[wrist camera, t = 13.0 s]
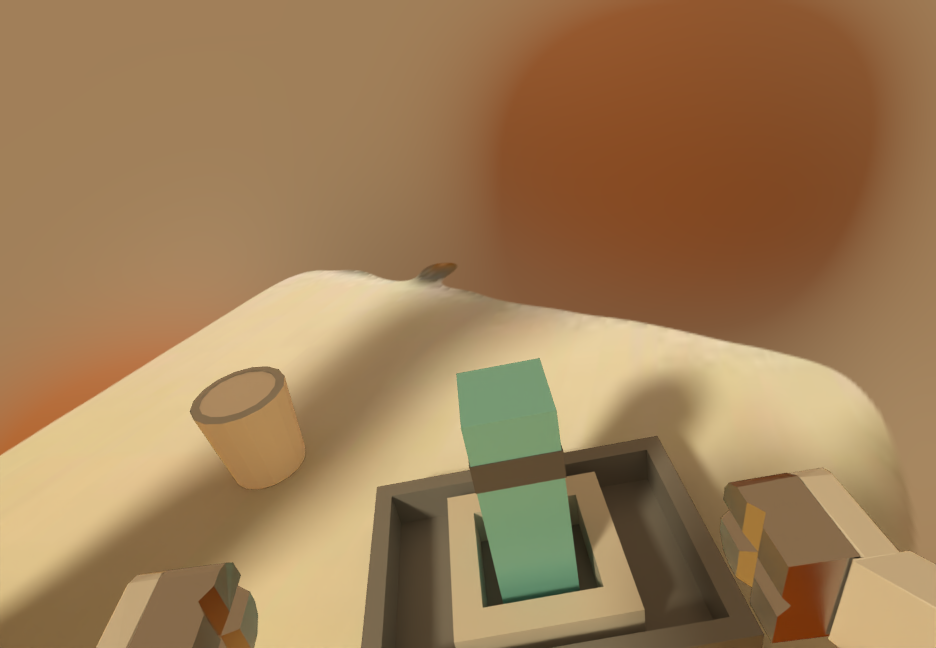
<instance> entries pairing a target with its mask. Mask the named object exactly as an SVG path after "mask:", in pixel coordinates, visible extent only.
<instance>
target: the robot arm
mask: <svg viewBox="0 0 936 648" xmlns="http://www.w3.org/2000/svg"><path fill="white" fill-rule="evenodd" d="M723 500H724V501H725V503H726V505H727V506H728V508H729V510H728V511H727V512H726V513H725V515H724V516H723V517H722V518H721V526H720V535H721V540H722V545H723V550H724V552H725V555H726V558H727V560H728V563H729V565H730V567H731V569H732V570H733V572H734V574H735V576H736V577H737V578H738V579H740V580H741V581H743V582H744V583H746V584H747V585H749V586H750V587H752V591H751V597H750V604H751V606H752V608H753V610H754V611H755V613H756V615H757V617H758V619H759V621H760V622H761V624H762V626H763V628H764V630H765V631H766V633H767V635H768V637H769V639H770V641H771V642H772V643H777V642H785V641H793V640H801V639H809V638H817V637H825V636H829V638H828V639H829V640H830V641H831V642H832V643H834V644H835V645H836V646H837V647H839V648H936V564H935V563H933V562H931V561H929V560H927V559H925V558H923V557H921V556H919V555H918V554H916V553H914V552H912V551H902V552H900V551H899V550H898V549H897V548H896V547H895V546H894V545H893V543H892V542H891V541H890V540H889V539H888V538H887V537H886V535H885V534H884V533H883V532H882V531H881V530H880V528H879V527H878V526H877V525H876V524H875V523H874V522H873V520H872V519H871V518H870V517H869V516H868V515H867V513H866V512H865V511H864V510H863V509H862V508H861V507H860V505H859V504H858V503H857V502H856V501H855V500H854V498H853V497H852V496H851V495H850V494H849V493H848V492H847V490H846V489H845V488H844V487H843V486H842V485H841V484H840V482H839V481H838V480H837V479H836V478H835V477H834V475H833V474H832V473H831V472H830V471H828V470H826V469H824V468H818V469H812V470H805V471H799V472H793V473H783V474H777V475H771V476H765V477H760V478H754V479H748V480H742V481H736V482H730V483H728V485H727V486H726V487H725V491H724V498H723ZM240 576H241V575H240V573H239V571H238V570H237V568H236V567H235V565H234V563H222V564H214V565H206V566H199V567H191V568H183V569H176V570H168V571H162V572H155V573H148V574H141V575H137V576H136V577H135V578H133V579H132V580H131V581H130V582H129V583H128V585H127V586H126V588H125V590H124V592H123V594H122V596H121V598H120V600H119V602H118V604H117V606H116V608H115V610H114V612H113V614H112V616H111V618H110V620H109V622H108V624H107V626H106V628H105V630H104V632H103V634H102V636H101V638H100V640H99V642H98V644H97V646H96V648H254V646H255V641H256V637H257V626H258V613H257V609H256V604H255V601H254V599H253V597H252V595H251V593H250V592H249V591H247V590H245V589H243V588H241V587H239V586H238V583H239V579H240Z"/></svg>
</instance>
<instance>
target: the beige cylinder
mask: <svg viewBox="0 0 936 648" xmlns="http://www.w3.org/2000/svg"><path fill="white" fill-rule="evenodd" d="M190 413H191V415H192V417H193V419H194V421H195V423H196V424H197V425H198V427H199V428H200V430H201V431H202V433H203V434H204V436H205V437H206V438H207V440H208V441H209V443H210V444H211V446H212V447H213V449H214V450H215V452H216V453H217V454H218V456H219V457H220V459H221V460H222V462H223V463H224V465H225V466H226V467H227V469H228V470H229V472H230V473H231V475H232V476H233V478H234V479H235V480H236V482H237V483H238V485H240V486H242V487H244V488H246V489H263V488H266V487H269V486H273V485H276V484H277V483H279V482H281V481H283V480H285V479H286V478H288V477H289V476H291V475H292V474H293V473H294V472H295V471H296V470H297V469H298V468H299V467H300V465H301V464H302V462H303V460H304V458H305V445H304V441H303V438H302V435H301V431H300V428H299V424H298V421H297V417H296V414H295V411H294V407H293V404H292V400H291V397H290V393H289V390H288V387H287V383H286V380H285V376H284V375H283V374H282V373H281V372H280V370H279V369H275V368H271V367H252V368H248V369H244V370H241V371H237V372H234V373H232V374H230V375H227V376H225V377H223V378H221V379H219V380H217V381H216V382H214V383H213V384H211V385H210V386H209V387H207V388H206V389H204V390H203V391H202V392H201V393H200V394H199V396H198V397H197V398H196V399H195V400H194V401H193V404H192V407H191V410H190Z"/></svg>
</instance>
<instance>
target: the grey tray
mask: <svg viewBox="0 0 936 648" xmlns="http://www.w3.org/2000/svg"><path fill="white" fill-rule="evenodd" d="M563 455H564V463H565V470H566V478H565V480H566V488H567V495H568V503H569V511H570V518H571V526H572V534H573V541H574V549H575V557H576V564H577V572H578V579H579V587H580V591H576V592H570V593H564V594H559V595H553V596H547V597H541V598H536V599H530V600H524V601H519V602H513V603H507V604H503V601H502V596H501V592H500V588H499V584H498V580H497V576H496V571H495V567H494V563H493V559H492V555H491V551H490V546H489V542H488V538H487V534H486V530H485V526H484V521H483V517H482V513H481V509H480V505H479V501H478V497H477V494H476V493H475V489H474V485H473V481H472V477H471V473H470V470H468V471H462V472H457V473H451V474H446V475H440V476H435V477H429V478H424V479H418V480H413V481H407V482H402V483H396V484H391V485H385V486H380V487H377V493H376V503H375V514H374V524H373V534H372V544H371V554H370V564H369V574H368V584H367V594H366V605H365V615H364V625H363V635H362V645H361V648H762V645H763V637H764V634H763V632H762V630H761V628H760V627H759V625H758V623H757V621H756V619H755V617H754V615H753V614H752V612H751V610H750V608H749V606H748V604H747V602H746V601H745V599H744V597H743V595H742V593H741V591H740V589H739V587H738V586H737V584H736V582H735V580H734V578H733V576H732V574H731V573H730V571H729V569H728V567H727V565H726V563H725V561H724V560H723V558H722V556H721V554H720V552H719V550H718V548H717V546H716V545H715V543H714V541H713V539H712V537H711V535H710V533H709V532H708V530H707V528H706V526H705V524H704V522H703V520H702V519H701V517H700V515H699V513H698V511H697V509H696V507H695V506H694V504H693V502H692V500H691V498H690V496H689V494H688V492H687V491H686V489H685V487H684V485H683V483H682V481H681V479H680V478H679V476H678V474H677V472H676V470H675V468H674V466H673V465H672V463H671V461H670V459H669V457H668V455H667V453H666V451H665V450H664V448H663V446H662V444H661V442H660V440H659V438H658V437H657V436H654V437H649V438H643V439H638V440H632V441H627V442H621V443H616V444H611V445H605V446H600V447H594V448H589V449H583V450H578V451H572V452H567V453H563Z"/></svg>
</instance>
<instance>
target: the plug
mask: <svg viewBox="0 0 936 648" xmlns="http://www.w3.org/2000/svg"><path fill="white" fill-rule="evenodd" d="M456 375H457V386H458V398H459V410H460V422H461V430H462V434H463V438H464V442H465V447H466V451H467V455H468V459H469V469H470V473H471V477H472V481H473V485H474V489H475V493H476V494H477V497H478V501H479V505H480V509H481V513H482V517H483V521H484V526H485V530H486V534H487V538H488V542H489V546H490V551H491V555H492V559H493V563H494V567H495V571H496V576H497V580H498V584H499V588H500V592H501V596H502V601H503V604H507V603H513V602H519V601H524V600H530V599H536V598H541V597H547V596H553V595H559V594H564V593H570V592H576V591H580V587H579V579H578V572H577V564H576V557H575V549H574V541H573V534H572V526H571V518H570V511H569V503H568V495H567V488H566V480H565V478H566V470H565V463H564V455H563V449H562V446H561V442H560V434H559V427H558V419H557V411H556V408H555V405H554V402H553V398H552V395H551V392H550V389H549V386H548V383H547V380H546V377H545V374H544V371H543V367H542V364H541V361H540V358H538V359H532V360H527V361H522V362H516V363H511V364H506V365H500V366H495V367H490V368H484V369H479V370H474V371H468V372H463V373H458V374H456Z"/></svg>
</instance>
